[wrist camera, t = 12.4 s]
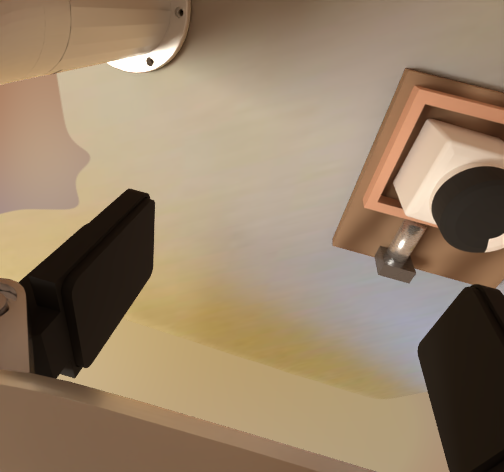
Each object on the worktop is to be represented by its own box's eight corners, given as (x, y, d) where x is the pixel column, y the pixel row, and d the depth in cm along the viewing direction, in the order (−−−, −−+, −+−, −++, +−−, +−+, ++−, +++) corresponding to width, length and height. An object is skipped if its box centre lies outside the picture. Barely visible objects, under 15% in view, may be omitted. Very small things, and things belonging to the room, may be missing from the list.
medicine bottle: (391, 183, 35) (415, 248, 25) (426, 116, 31) (472, 163, 21) (456, 202, 35) (506, 275, 25) (501, 138, 31) (581, 195, 21)
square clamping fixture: (332, 238, 42) (332, 263, 38) (405, 68, 30) (417, 76, 26) (488, 282, 41) (506, 312, 37) (625, 123, 29) (673, 140, 25)
